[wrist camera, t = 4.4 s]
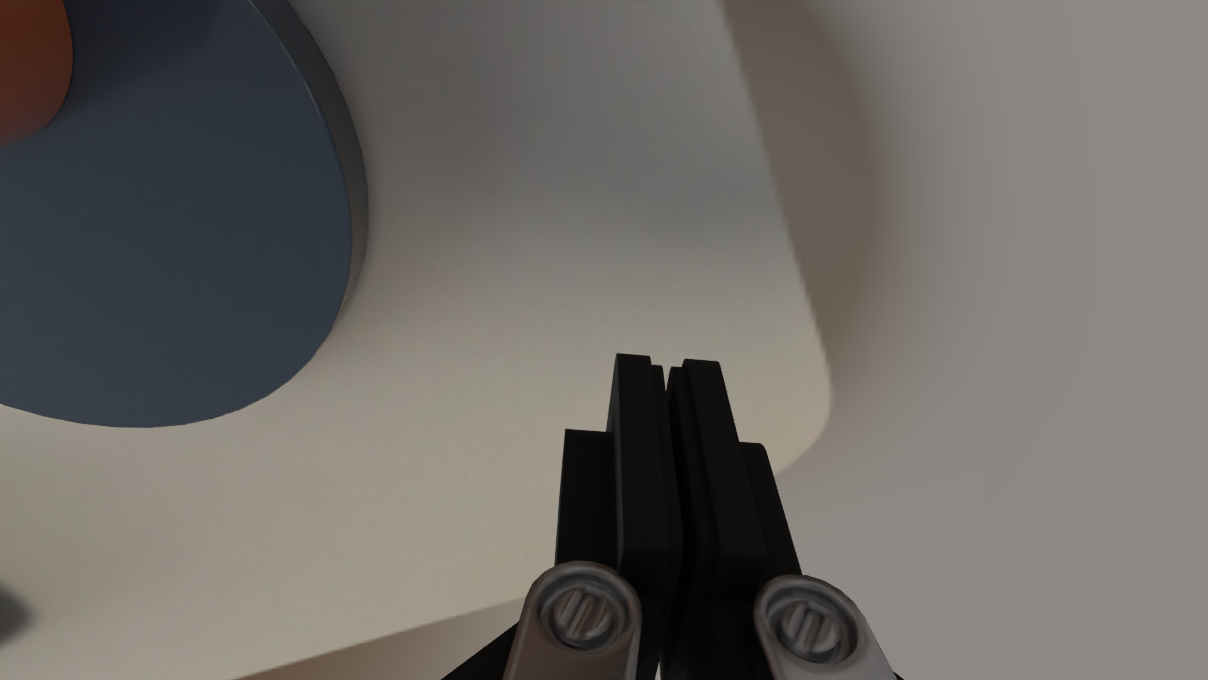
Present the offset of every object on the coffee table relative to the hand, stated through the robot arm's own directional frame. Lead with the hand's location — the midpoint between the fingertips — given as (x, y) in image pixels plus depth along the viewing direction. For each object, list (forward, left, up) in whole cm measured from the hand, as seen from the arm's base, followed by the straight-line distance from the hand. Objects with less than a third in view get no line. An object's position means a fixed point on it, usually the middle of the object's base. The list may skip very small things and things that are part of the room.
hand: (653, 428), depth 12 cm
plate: (0, -14, -9) cm, 17 cm away
